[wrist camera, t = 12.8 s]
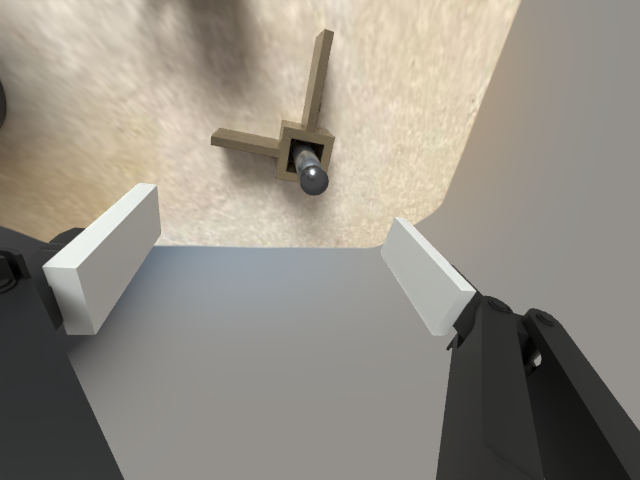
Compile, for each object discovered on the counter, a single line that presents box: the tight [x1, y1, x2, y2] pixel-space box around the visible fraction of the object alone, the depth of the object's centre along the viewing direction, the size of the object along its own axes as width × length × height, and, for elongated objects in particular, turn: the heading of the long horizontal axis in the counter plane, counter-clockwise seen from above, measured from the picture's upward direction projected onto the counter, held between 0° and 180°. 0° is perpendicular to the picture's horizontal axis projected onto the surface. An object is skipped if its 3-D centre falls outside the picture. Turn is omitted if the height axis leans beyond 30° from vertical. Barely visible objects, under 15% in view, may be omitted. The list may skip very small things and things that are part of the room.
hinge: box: [211, 29, 335, 182], centre depth 33 cm, size 14×16×6 cm
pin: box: [291, 139, 329, 196], centre depth 32 cm, size 3×3×15 cm
